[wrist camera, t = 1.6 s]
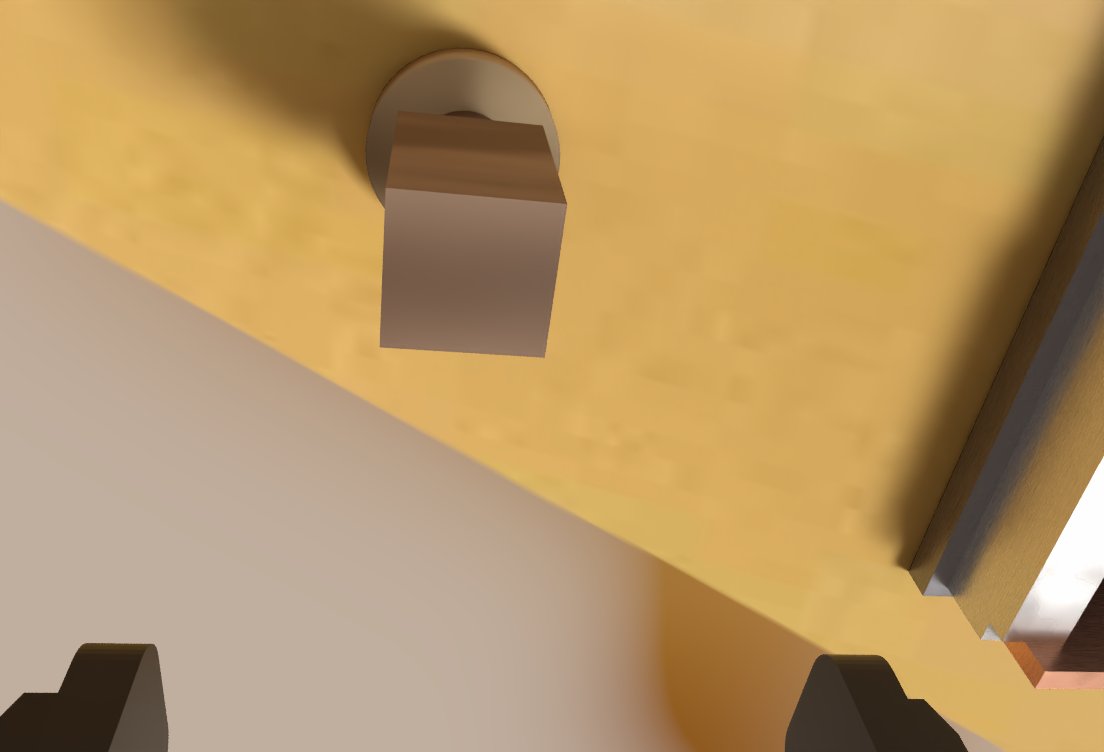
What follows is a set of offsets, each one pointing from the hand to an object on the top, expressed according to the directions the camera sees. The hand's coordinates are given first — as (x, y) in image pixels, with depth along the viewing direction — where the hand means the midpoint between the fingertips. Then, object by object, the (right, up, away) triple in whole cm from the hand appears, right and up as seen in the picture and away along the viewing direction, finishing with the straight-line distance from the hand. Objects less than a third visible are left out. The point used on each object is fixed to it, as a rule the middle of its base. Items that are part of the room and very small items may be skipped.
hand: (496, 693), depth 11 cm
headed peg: (-2, +11, +18) cm, 22 cm away
